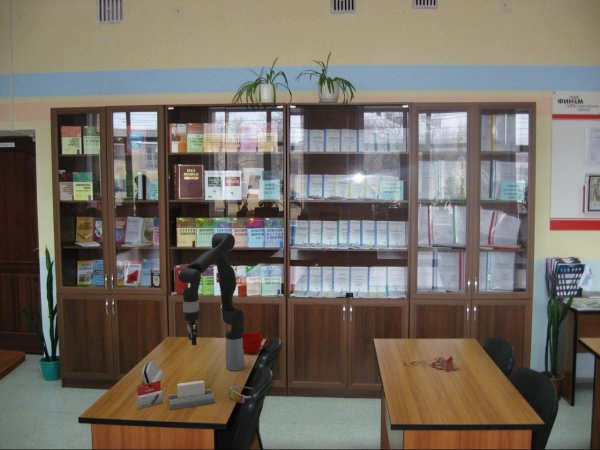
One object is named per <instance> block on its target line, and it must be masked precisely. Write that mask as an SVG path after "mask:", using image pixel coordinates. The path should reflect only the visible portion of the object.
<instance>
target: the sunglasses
mask: <svg viewBox="0 0 600 450" xmlns="http://www.w3.org/2000/svg"><path fill="white" fill-rule="evenodd" d="M235 389H248V390H253V388H252V387H249V386H244V385H243V386H229V397H230V400H232V401H233V402H235V403H240V404H244V403H245V399H247V400H248V399H251V395H250V396H249V395H248V396H247V395H244V394H241V393H239V392H237V391H235Z"/></svg>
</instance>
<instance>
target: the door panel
mask: <svg viewBox="0 0 600 450" xmlns="http://www.w3.org/2000/svg"><path fill="white" fill-rule="evenodd" d="M176 385H177V386H176V387H177V394H178V399H179V398H186V397H193V396H200V395H205V390H206V387H205V386H206V385H205V381H204V380H195V381H194V380H193V381H187V382H181V383H177V384H176Z"/></svg>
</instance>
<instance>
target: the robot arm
mask: <svg viewBox="0 0 600 450" xmlns="http://www.w3.org/2000/svg"><path fill="white" fill-rule="evenodd" d="M235 244H236V238H235V237H234V235H233V234H232V233H226V232H216V233H214V234H213V235H212V237H211V245H212V249H210V250H207V251H206V252H205V251H204V252H203V253H202V254H201V255H199V256H198V257H197V258H196V259H195V260H194V261H193V262H191V263H188V264H187V265H185V266H184V267H183V268H182V269H181V270H180V271H179V273H178V281H180V282H181V283H182V284H183V283H184V284H189V287H186V288H184V289H183V291H182V296H183V297H182V298H183V299H182V302H183V304H182V309H183V311H182V312H183V313H182V314H183V320H184V321H186V322H187V323H186V324H187V326H186V327H187V328H186V329H187V332H188V340H189V341H191V346H196V345H197V338H198V324H197V322H196V321H198V320H199V319H200V303H199V302H200V301H199V289H200V285H201V279H202V275H201V274H203V273H205V272H206V270H208V269H209V267H211V265H212V264H214V263H215V265H216V267H217V268H216V270H217V277H218V284H219V291H220V300H221V317H222V321H223V323H225V324H226V325H230V326H231V327H230V330H228V331H226V332H225V369H226V370H227V371H230V372H234V371H235V372H236V371H240V370H243V369H245V367H244V366H245V351H244V350H243V334H244V332H245V313H244V311H243V310H242V309H240V308H237V307H234V302H233V299H234V298H233V297H234V294H235V291H236V289H237V285H238V284H237V277H236V276H237V275H236V272H235V270H234V268H233V267H232V265H231V264H230V263H229V261H228V259H227V257H226V254H227V253H228V252H230V251H231V250H233V249H234V247H235Z"/></svg>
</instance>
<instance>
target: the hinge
mask: <svg viewBox="0 0 600 450" xmlns="http://www.w3.org/2000/svg"><path fill="white" fill-rule="evenodd" d="M163 375H164V371H163V370H161V369H160V367H159V365H158V362H157V361H156V360H152V361H150V362H147V363H145V365H144V366H143V367H142V371H141V376H142V379H143V382H144V384H148V383H152V382H156V381H161V379H162V378H163ZM148 387H150V385H148V386H146V388H148Z"/></svg>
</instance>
